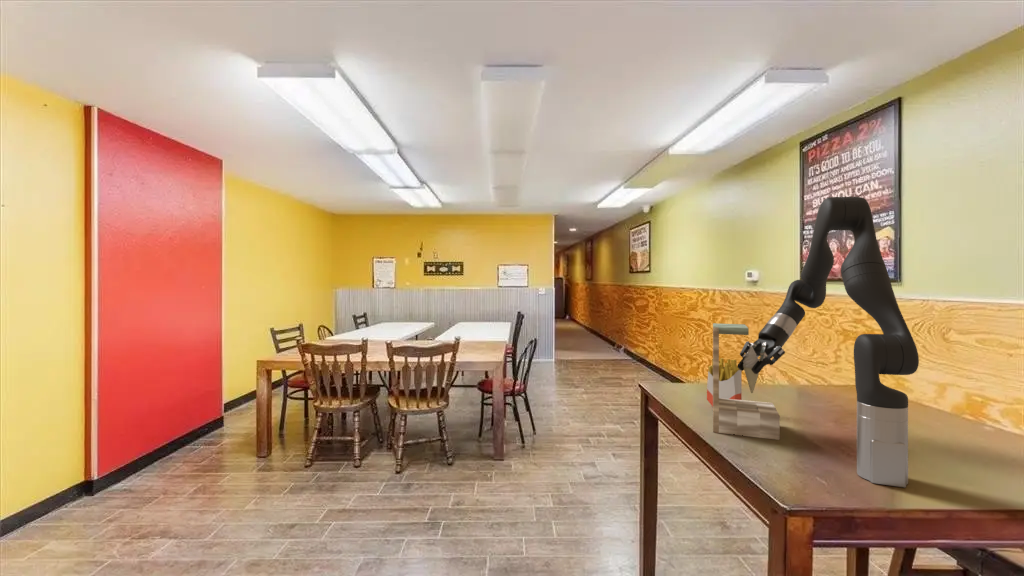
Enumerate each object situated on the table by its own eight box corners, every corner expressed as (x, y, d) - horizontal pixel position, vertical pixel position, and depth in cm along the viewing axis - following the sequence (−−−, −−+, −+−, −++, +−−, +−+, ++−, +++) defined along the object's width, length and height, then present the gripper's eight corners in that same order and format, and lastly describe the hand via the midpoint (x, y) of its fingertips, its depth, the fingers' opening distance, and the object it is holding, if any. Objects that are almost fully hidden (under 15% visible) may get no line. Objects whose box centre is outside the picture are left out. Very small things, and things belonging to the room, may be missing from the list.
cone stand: (779, 439, 132) (779, 329, 132) (713, 432, 139) (713, 327, 139) (772, 424, 146) (772, 325, 146) (712, 418, 153) (712, 323, 153)
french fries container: (734, 413, 160) (734, 361, 160) (706, 406, 169) (706, 357, 169) (741, 411, 163) (741, 360, 163) (713, 404, 172) (713, 356, 172)
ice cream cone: (756, 391, 144) (756, 343, 144) (764, 395, 139) (763, 346, 139) (740, 391, 145) (740, 343, 145) (746, 394, 140) (746, 345, 140)
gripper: (753, 320, 151) (722, 358, 148) (790, 324, 137) (758, 366, 134) (766, 336, 152) (736, 374, 149) (804, 341, 139) (772, 383, 135)
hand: (746, 370), depth 142 cm, fingers closed on ice cream cone, 5 cm apart
